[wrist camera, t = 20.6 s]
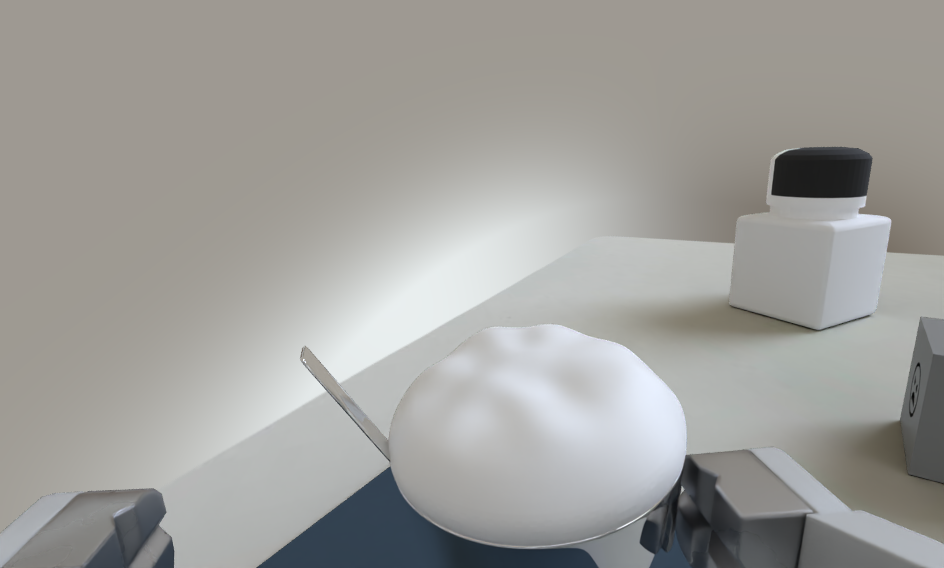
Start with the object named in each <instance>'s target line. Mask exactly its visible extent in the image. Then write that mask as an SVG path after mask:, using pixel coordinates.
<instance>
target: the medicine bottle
mask: <svg viewBox="0 0 944 568" xmlns="http://www.w3.org/2000/svg"><path fill="white" fill-rule="evenodd" d="M871 164H872V157H871V156H870V154H869V153H867V152H865V151H863V150H861V149H858V148H847V147H813V148H812V147H810V148H796V149H789V150H784V151H782V152H780V153H778V154H776V155H774V156H773V157H772V158H771V162H770V171H769V180H768V189H767V198H766V204H767V205H770V212H766V213H759V214H751V215H744V216H740V217H739V218H738V219H737V226H736V235H735V245H734V255H733V266H732V276H731V286H730V296H729V304H730V305H731V306H734V307H737V308H741V309H744V310H748V311H751V312H755V313H759V314H762V315H766V316H769V317H773V318H776V319H780V320H784V321H787V322H791V323H794V324H798V325H801V326H805V327H809V328H812V329H816V330H821V329H824V328H827V327H831V326H834V325H837V324H841V323H844V322H847V321H851V320H854V319H857V318H860V317H864V316H867V315H870V314H873V313H875V311H876V308H877V302H878V297H879V291H880V285H881V279H882V274H883V268H884V262H885V256H886V251H887V245H888V239H889V233H890V227H891V220H890V219H889V218H887V217H883V216H876V215H866V214H858V210H859V208H861V207H865V202H866V196H867V190H868V182H869V177H870V171H871Z"/></svg>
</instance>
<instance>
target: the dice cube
mask: <svg viewBox="0 0 944 568" xmlns="http://www.w3.org/2000/svg"><path fill="white" fill-rule="evenodd" d="M900 421H901V428H902V435H903V442H904V449H905V456H906V462H907V469H908V474H910V475H914V476H918V477H922V478H925V479H929V480H933V481H937V482H941V483H944V319H936V318H928V317H920V322H919V327H918V332H917V337H916V342H915V347H914V352H913V357H912V362H911V367H910V372H909V377H908V382H907V387H906V393H905V398H904V403H903V408H902V413H901V418H900Z"/></svg>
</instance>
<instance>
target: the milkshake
mask: <svg viewBox="0 0 944 568" xmlns="http://www.w3.org/2000/svg"><path fill="white" fill-rule="evenodd" d="M300 360H301V362H302V363H303V364H304V365H305V367H306V368H307V369H308V370H309V371H310V372H311V373H312V375H313V376H314V377H315V378H316V379H317V380H318V381H319V383H320V384H321V385H322V386H323V387H324V388H325V389H326V391H327V392H328V393H329V394H330V395H331V396H332V397H333V398H334V400H335V401H336V402H337V403H338V404H339V405H340V406H341V407H342V409H343V410H344V411H345V412H346V413H347V414H348V415H349V416H350V418H351V419H352V420H353V421H354V422H355V423H356V424H357V425H358V427H359V428H360V429H361V430H362V431H363V432H364V433H365V434H366V436H367V437H368V438H369V439H370V440H371V441H372V442H373V443H374V445H375V446H376V447H377V448H378V449H379V450H380V451H381V453H382V454H383V455H384V456H385V457H386V458H387V459H388V460H389V462H390V466H391V470H392V473H393V476H394V478H395V481H396V484H397V487H398V489H399V492H400V495H401V498H402V500H403V503H404V506H405V508H406V511H407V514H408V516H409V519H410V522H411V524H412V527H413V530H414V532H415V535H416V538H417V540H418V543H419V546H420V548H421V551H422V554H423V556H424V559H425V562H426V564H427V567H428V568H670V564H671V557H672V550H673V543H674V536H675V529H676V521H677V514H678V507H679V500H680V493H681V486H682V479H683V472H684V465H685V455H686V447H687V431H686V422H685V416H684V412H683V409H682V406H681V404H680V402H679V400H678V399H677V397H676V396H675V394H674V393H673V392H672V391H671V389H670V388H669V387H668V386H667V385H666V384H665V383H664V382H663V381H662V380H661V379H660V378H659V377H658V376H657V375H656V374H655V373H654V372H653V371H652V370H651V369H650V368H649V367H648V366H647V365H646V364H645V363H644V362H643V361H642V360H641V359H639V358H638V357H637V356H636V355H635V354H634V353H633V352H631V351H630V350H629V349H628V348H626V347H624V346H622V345H620V344H618V343H615V342H612V341H608V340H603V339H599V338H594V337H591V336H587V335H585V334H582V333H579V332H577V331H575V330H572V329H570V328H567V327H564V326H561V325H556V324H541V325H535V326H530V327H521V328H513V327H489V328H485V329H483V330H481V331H479V332H477V333H475V334H474V335H472V336H471V337H469V338H468V339H467V340H465V341H464V342H463V343H462V344H460V345H459V346H458V347H457V348H456V349H455V350H454V351H453V352H452V353H450V354H449V355H448V356H447V357H445V358H444V359H442V360H441V361H439V362H437V363H435V364H433V365H432V366H430V367H428V368H427V369H426V370H424V371H423V372H422V373H421V374H420V375H419V376H418V378H417V379H416V380H415V381H414V382H413V383H412V384H411V386H410V387H409V388H408V390H407V391H406V393H405V394H404V396H403V398H402V399H401V401H400V403H399V405H398V407H397V409H396V411H395V414H394V417H393V419H392V423H391V427H390V432H389V440H387V438H386V437H385V436H384V435H383V434H382V433H381V432H380V430H379V429H378V428H377V427H376V426H375V425H374V423H373V422H372V421H371V420H370V419H369V418H368V417H367V415H366V414H365V413H364V412H363V411H362V410H361V409H360V407H359V406H358V405H357V404H356V403H355V402H354V400H353V399H352V398H351V397H350V396H349V395H348V394H347V392H346V391H345V390H344V389H343V388H342V387H341V386H340V384H339V383H338V382H337V381H336V380H335V379H334V377H333V376H332V375H331V374H330V373H329V372H328V371H327V369H326V368H325V367H324V366H323V365H322V364H321V362H320V361H319V360H318V359H317V358H316V357H315V356H314V354H312V352H311V351H310V350H309V349H308V348H307V347H306V346H304V347H303V348H302V352H301V357H300Z"/></svg>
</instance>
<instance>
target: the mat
mask: <svg viewBox="0 0 944 568" xmlns="http://www.w3.org/2000/svg"><path fill="white" fill-rule="evenodd" d="M257 568H428V567H427V564H426V562H425V559H424V556H423V554H422V551H421V548H420V546H419V543H418V540H417V538H416V535H415V532H414V530H413V527H412V524H411V522H410V519H409V516H408V514H407V511H406V508H405V506H404V503H403V500H402V498H401V495H400V492H399V489H398V487H397V484H396V481H395V478H394V476H393V473H392V470H391V466H390V467H389V468H387V469H386V470H385V471H384V472H382V473H381V474H380V475H378V476H377V477H376V478H374V479H373V480H372V481H370V482H369V483H368V484H366V485H365V486H364V487H362V488H361V489H360V490H358V491H357V492H356V493H354V494H353V495H352V496H350V497H349V498H348V499H347V500H345V501H344V502H343V503H341V504H340V505H339V506H337V507H336V508H335V509H333V510H332V511H331V512H329V513H328V514H327V515H325V516H324V517H323V518H321V519H320V520H319V521H317V522H316V523H315V524H314V525H312V526H311V527H310V528H308V529H307V530H306V531H304V532H303V533H302V534H300V535H299V536H298V537H296V538H295V539H294V540H292V541H291V542H290V543H288V544H287V545H286V546H284V547H283V548H282V549H281V550H279V551H278V552H277V553H275V554H274V555H273V556H271V557H270V558H269V559H267V560H266V561H265V562H263V563H262V564H261V565H259V566H258V567H257ZM670 568H693V567H691V566H690V565H689V563H688V561H687V559H686V558H685V556H684V554H683V553H682V550H681V547H680V545H679V542H678V540H677V535H676V530H675V536H674V543H673V550H672V557H671V564H670Z"/></svg>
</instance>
